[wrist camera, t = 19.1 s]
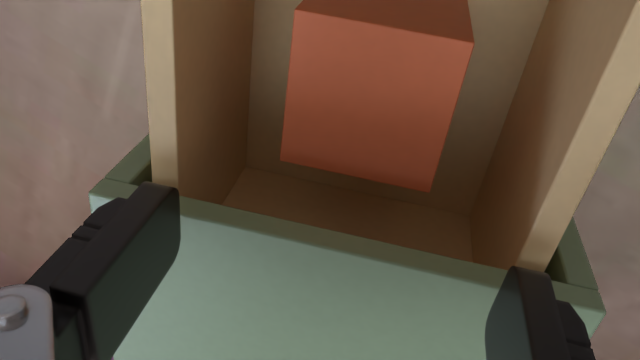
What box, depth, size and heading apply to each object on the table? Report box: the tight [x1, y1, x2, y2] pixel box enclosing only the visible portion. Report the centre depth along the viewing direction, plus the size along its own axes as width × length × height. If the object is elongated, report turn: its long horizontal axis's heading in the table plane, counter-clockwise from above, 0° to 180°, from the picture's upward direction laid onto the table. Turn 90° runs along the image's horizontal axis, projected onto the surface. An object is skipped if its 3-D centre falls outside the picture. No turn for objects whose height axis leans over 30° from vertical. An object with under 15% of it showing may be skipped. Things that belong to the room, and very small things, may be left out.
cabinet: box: [89, 134, 606, 360], centre depth 21 cm, size 15×14×10 cm
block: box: [280, 0, 475, 193], centre depth 16 cm, size 5×5×5 cm
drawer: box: [140, 0, 640, 272], centre depth 14 cm, size 18×12×8 cm
